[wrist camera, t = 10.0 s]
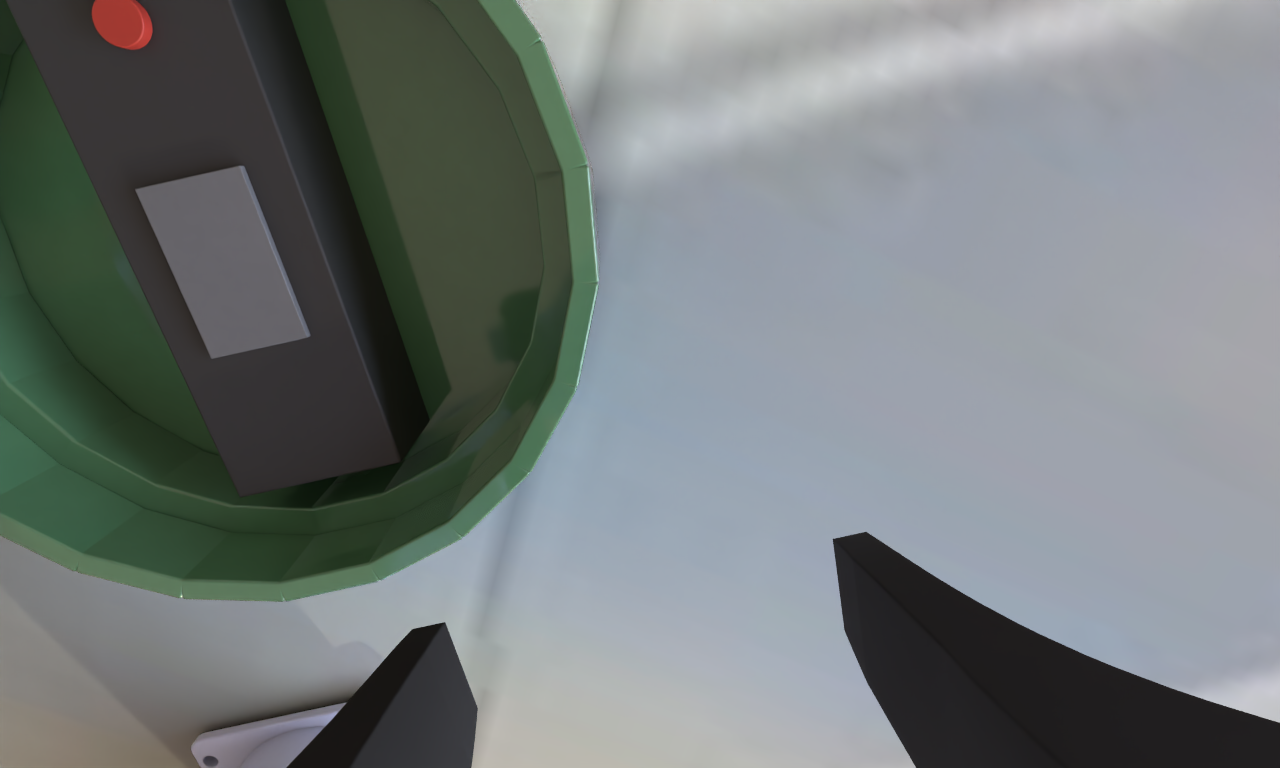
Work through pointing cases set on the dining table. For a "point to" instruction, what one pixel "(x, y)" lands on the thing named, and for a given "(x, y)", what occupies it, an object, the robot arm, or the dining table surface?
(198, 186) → the remote
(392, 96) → the bowl
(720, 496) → the dining table surface
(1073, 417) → the dining table surface
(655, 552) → the dining table surface
